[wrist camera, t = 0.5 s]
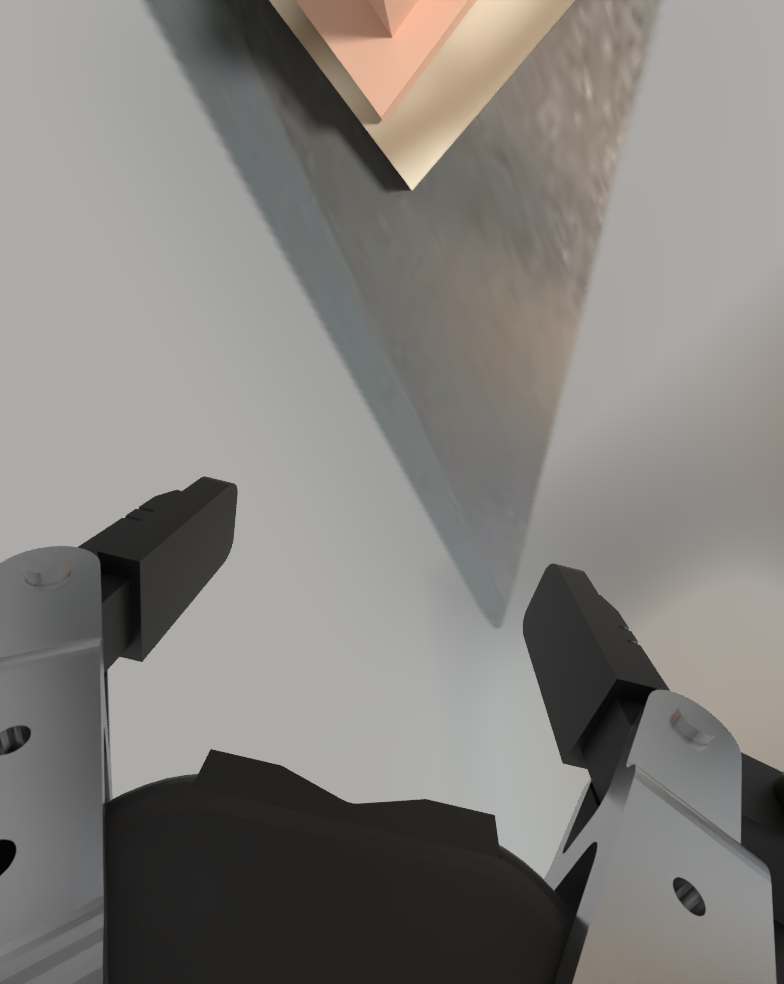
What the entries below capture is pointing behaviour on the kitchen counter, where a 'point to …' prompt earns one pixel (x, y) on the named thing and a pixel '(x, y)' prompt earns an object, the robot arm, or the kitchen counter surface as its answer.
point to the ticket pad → (439, 77)
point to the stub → (385, 41)
